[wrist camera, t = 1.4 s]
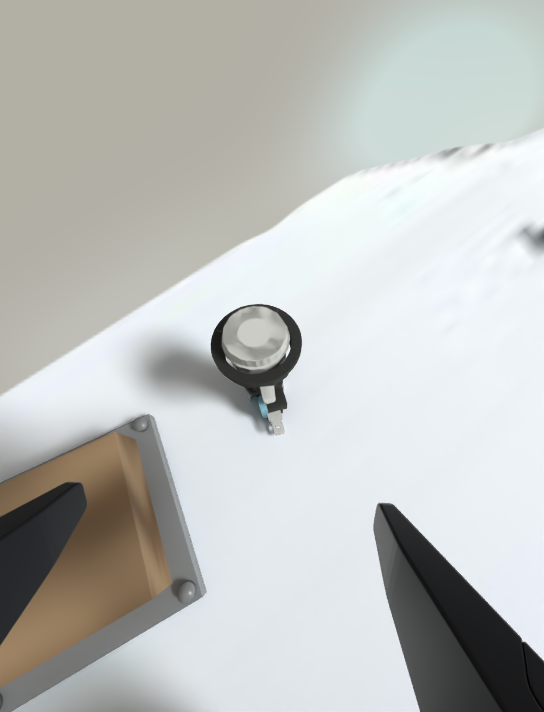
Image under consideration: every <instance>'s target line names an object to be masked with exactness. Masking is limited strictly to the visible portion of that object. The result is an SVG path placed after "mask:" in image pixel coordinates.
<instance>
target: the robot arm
mask: <svg viewBox="0 0 544 712" xmlns="http://www.w3.org/2000/svg"><path fill="white" fill-rule="evenodd" d="M86 508H87V498H86V494H85V490H84V487H83V484H82V483H81V482H73V481H68V482H65V483H63V484H61V485H59V486H57V487H55V488H53V489H52V490H50V491H48V492H46V493H44V494H42V495H40V496H38V497H36V498H35V499H33V500H31V501H29V502H27V503H25V504H23V505H21V506H19V507H18V508H16V509H14V510H12V511H10V512H8V513H6V514H4V515H2V516H1V517H0V646H1V644H2V643H3V641H4V640H5V638H6V637H7V635H8V634H9V632H10V631H11V629H12V628H13V626H14V625H15V623H16V622H17V620H18V619H19V617H20V616H21V614H22V613H23V611H24V610H25V608H26V607H27V605H28V604H29V603H30V601H31V600H32V598H33V597H34V595H35V594H36V592H37V591H38V589H39V588H40V586H41V585H42V583H43V582H44V580H45V579H46V577H47V576H48V574H49V573H50V571H51V570H52V568H53V567H54V565H55V563H56V562H57V560H58V558H59V557H60V555H61V553H62V551H63V550H64V548H65V546H66V544H67V543H68V541H69V539H70V537H71V535H72V534H73V532H74V530H75V528H76V527H77V525H78V523H79V521H80V520H81V518H82V516H83V514H84V513H85V511H86ZM373 527H374V535H375V540H376V545H377V551H378V556H379V561H380V566H381V571H382V576H383V581H384V586H385V591H386V595H387V599H388V603H389V607H390V610H391V613H392V617H393V620H394V624H395V627H396V631H397V634H398V637H399V641H400V644H401V648H402V651H403V654H404V658H405V661H406V665H407V668H408V672H409V675H410V678H411V682H412V685H413V689H414V692H415V695H416V699H417V702H418V706H419V709H420V712H544V661H543V660H542V659H541V658H540V657H539V655H538V654H537V653H536V652H535V651H534V650H533V649H532V648H531V647H530V646H529V645H528V644H527V643H526V642H522V639H521V637H520V636H519V635H518V634H517V633H516V632H515V631H514V630H513V629H512V628H511V626H510V625H509V624H508V623H507V622H506V621H505V620H504V619H503V618H502V617H501V616H500V615H499V614H498V613H497V612H496V611H495V610H494V609H493V608H492V607H491V606H490V605H489V604H488V602H487V601H486V600H485V599H484V598H483V597H482V596H481V595H480V594H479V593H478V592H477V591H476V590H475V589H474V588H473V587H472V586H471V585H470V584H469V583H468V582H467V581H466V580H465V579H464V577H463V576H462V575H461V574H460V573H459V572H458V571H457V570H456V569H455V568H454V567H453V566H452V565H451V564H450V563H449V562H448V561H447V560H446V559H445V558H444V557H443V556H442V555H441V554H440V552H439V551H438V550H437V549H436V548H435V547H434V546H433V545H432V544H431V543H430V542H429V541H428V540H427V539H426V538H425V537H424V536H423V535H422V534H421V533H420V532H419V531H418V530H417V528H416V527H415V526H414V525H413V524H412V523H411V522H410V521H409V520H408V519H407V518H406V517H405V516H404V515H403V514H402V513H401V512H400V511H399V510H398V509H397V508H396V507H395V506H394V505H393V504H390V503H378V505H377V507H376V513H375V518H374V526H373Z"/></svg>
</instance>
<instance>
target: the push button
mask: <svg viewBox="0 0 544 712" xmlns="http://www.w3.org/2000/svg"><path fill="white" fill-rule="evenodd" d="M289 344H290V348H291V350H290V352H289V355H288V356H287V358H286V352H287V350H288V347H289ZM301 347H302V338H301V333H300V330H299V328H298V326H297V324H296V322H295V321H294V320H293V319H292V317H291V316H289V315H288V314H287V313H286V312H284V311H283V310H281V309H279V308H276V307H273V306H270V305H263V304H254V305H247V306H243V307H240V308H238V309H236V310H234V311H232V312H230V313H229V314H228V315H226V316H225V317H224V318H223V319H222V320H221V321H220V322H219V324H218V325H217V327H216V328H215V330H214V332H213V335H212V339H211V353H212V357H213V359H214V362H215V364H216V365H217V367H218V369H219V370H220V371H221V372H222V373H223V374H224V375H225V376H226V377H227V378H229V379H230V380H232V381H233V382H235V383H237V384H239V385H241V386H244V387H245V388H246V390H247V392H248V396H249V399H250V402H251V398H250V396H255V395H257V398H258V402H259V407H260V410H261V414H262V415H263V419H264V418H267V417H268V420H269V423H272V427H273V430H274V433H275V435H276V436H277V435H280V434H284V427H283V424H282V421H281V420H282V414H281V413H283V409H287V402H286V398H285V395H284V386H283V379H284V378H286V377H287V376H288V373H289V372H290V371H291V370H292V369H293V368H294V366H295V365H296V363H297V361H298V359H299V357H300V353H301ZM226 357H227V358H228V359H229V360H230V361H231V362H232V364H233V366H234V367H235V369H234V368H233V367H232V366H230V365H229V364H228V362H227V361H226ZM277 426H280V428H279V429H277V428H276V427H277Z"/></svg>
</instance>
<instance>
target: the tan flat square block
mask: <svg viewBox="0 0 544 712" xmlns="http://www.w3.org/2000/svg"><path fill="white" fill-rule="evenodd" d="M68 481H73V482H81V483H82V484H83V487H84V490H85V494H86V498H87V508H86V511H85V513H84V514H83V516H82V518H81V520H80V521H79V523H78V525H77V527H76V528H75V530H74V532H73V534H72V535H71V537H70V539H69V541H68V543H67V544H66V546H65V548H64V550H63V551H62V553H61V555H60V557H59V558H58V560H57V562H56V563H55V565H54V567H53V568H52V570H51V571H50V573H49V574H48V576H47V577H46V579H45V580H44V582H43V583H42V585H41V586H40V588H39V589H38V591H37V592H36V594H35V595H34V597H33V598H32V600H31V601H30V603H29V604H28V605H27V607H26V608H25V610H24V611H23V613H22V614H21V616H20V617H19V619H18V620H17V622H16V623H15V625H14V626H13V628H12V629H11V631H10V632H9V634H8V635H7V637H6V638H5V640H4V641H3V643H2V644H1V646H0V688H1V687H3V686H4V685H6V684H8V683H10V682H11V681H13V680H15V679H16V678H18V677H20V676H22V675H23V674H25V673H27V672H28V671H30V670H32V669H34V668H35V667H37V666H39V665H40V664H42V663H44V662H46V661H47V660H49V659H51V658H52V657H54V656H56V655H58V654H59V653H61V652H63V651H65V650H66V649H68V648H70V647H71V646H73V645H75V644H77V643H78V642H80V641H82V640H83V639H85V638H87V637H89V636H90V635H92V634H94V633H95V632H97V631H99V630H101V629H102V628H104V627H106V626H107V625H109V624H111V623H113V622H114V621H116V620H118V619H120V618H121V617H123V616H125V615H126V614H128V613H130V612H132V611H133V610H135V609H137V608H138V607H140V606H142V605H144V604H145V603H147V602H149V601H150V600H152V599H153V598H155V597H156V596H157V595H158V594H160V593H161V592H162V591H163V590H165V589H166V588H167V587H168V586H169V585H171V584H172V579H171V575H170V571H169V567H168V563H167V559H166V556H165V552H164V548H163V544H162V540H161V536H160V532H159V529H158V525H157V521H156V517H155V513H154V509H153V505H152V502H151V498H150V494H149V490H148V486H147V482H146V478H145V475H144V471H143V467H142V463H141V459H140V455H139V451H138V448H137V444H136V440H135V439H133V438H130V437H127V436H125V435H122V434H119V433H116V432H113V433H111V434H109V435H106V436H104V437H102V438H100V439H98V440H96V441H94V442H91V443H89V444H87V445H85V446H83V447H81V448H79V449H76V450H74V451H72V452H70V453H68V454H66V455H64V456H61V457H59V458H57V459H55V460H53V461H51V462H49V463H46V464H44V465H42V466H40V467H38V468H36V469H33V470H31V471H29V472H27V473H25V474H23V475H21V476H18V477H16V478H14V479H12V480H10V481H8V482H6V483H3V484H1V485H0V517H1V516H2V515H4V514H6V513H8V512H10V511H12V510H14V509H16V508H18V507H19V506H21V505H23V504H25V503H27V502H29V501H31V500H33V499H35V498H36V497H38V496H40V495H42V494H44V493H46V492H48V491H50V490H52V489H53V488H55V487H57V486H59V485H61V484H63V483H65V482H68Z"/></svg>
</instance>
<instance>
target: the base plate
mask: <svg viewBox="0 0 544 712" xmlns="http://www.w3.org/2000/svg"><path fill="white" fill-rule="evenodd" d="M113 432H116V433H119V434H122V435H125V436H127V437H130V438H133V439H135V440H136V444H137V448H138V451H139V455H140V459H141V463H142V467H143V471H144V475H145V478H146V482H147V486H148V490H149V494H150V498H151V502H152V505H153V509H154V513H155V517H156V521H157V525H158V529H159V532H160V536H161V540H162V544H163V548H164V552H165V556H166V559H167V563H168V567H169V571H170V575H171V579H172V584H171V585H169V586H168V587H167V588H166V589H165V590H163V591H162V592H161V593H160V594H158V595H157V596H156V597H155V598H153V599H152V600H150V601H149V602H147V603H145V604H144V605H142V606H140V607H138V608H137V609H135V610H133V611H132V612H130V613H128V614H126V615H125V616H123V617H121V618H120V619H118V620H116V621H114V622H113V623H111V624H109V625H107V626H106V627H104V628H102V629H101V630H99V631H97V632H95V633H94V634H92V635H90V636H89V637H87V638H85V639H83V640H82V641H80V642H78V643H77V644H75V645H73V646H71V647H70V648H68V649H66V650H65V651H63V652H61V653H59V654H58V655H56V656H54V657H52V658H51V659H49V660H47V661H46V662H44V663H42V664H40V665H39V666H37V667H35V668H34V669H32V670H30V671H28V672H27V673H25V674H23V675H22V676H20V677H18V678H16V679H15V680H13V681H11V682H10V683H8V684H6V685H4V686H3V687H1V688H0V712H11V711H13V710H15V709H16V708H18V707H20V706H21V705H23V704H25V703H26V702H28V701H30V700H31V699H33V698H35V697H36V696H38V695H40V694H41V693H43V692H45V691H46V690H48V689H50V688H51V687H53V686H55V685H56V684H58V683H60V682H61V681H63V680H65V679H66V678H68V677H70V676H71V675H73V674H75V673H76V672H78V671H80V670H81V669H83V668H85V667H86V666H88V665H90V664H91V663H93V662H95V661H96V660H98V659H100V658H101V657H103V656H105V655H106V654H108V653H110V652H111V651H113V650H115V649H116V648H118V647H120V646H121V645H123V644H125V643H126V642H128V641H130V640H131V639H133V638H135V637H136V636H138V635H140V634H141V633H143V632H145V631H146V630H148V629H150V628H151V627H153V626H155V625H156V624H158V623H160V622H161V621H163V620H165V619H166V618H168V617H170V616H171V615H173V614H175V613H177V612H178V611H180V610H182V609H183V608H185V607H187V606H188V605H190V604H192V603H193V602H195V601H197V600H198V599H200V598H202V597H203V596H204V594H205V593H206V588H205V585H204V582H203V578H202V575H201V572H200V568H199V565H198V562H197V558H196V555H195V552H194V548H193V545H192V542H191V538H190V535H189V532H188V528H187V525H186V522H185V518H184V515H183V512H182V508H181V505H180V502H179V499H178V495H177V492H176V489H175V485H174V482H173V479H172V475H171V472H170V469H169V465H168V462H167V459H166V455H165V452H164V449H163V445H162V442H161V439H160V435H159V432H158V429H157V425H156V422H155V419H154V417H153V416H151V415H150V414H148V415H146V416H144V417H141V418H137V419H136V420H135V421H133V422H131V423H129V424H126V425H124V426H122V427H120V428H118V429H116V430H113V431H111V432H109V433H107V434H105V435H103V436H101V437H98V438H96V439H94V440H92V441H90V442H88V443H85V444H83V445H81V446H79V447H77V448H75V449H73V450H70V451H68V452H66V453H64V454H62V455H60V456H58V457H55V458H53V459H51V460H49V461H47V462H45V463H42V464H40V465H38V466H36V467H34V468H32V469H30V470H27V471H25V472H23V473H21V474H19V475H17V476H14V477H12V478H10V479H8V480H6V481H4V482H2V483H0V485H1V484H3V483H6V482H8V481H10V480H12V479H14V478H16V477H18V476H21V475H23V474H25V473H27V472H29V471H31V470H33V469H36V468H38V467H40V466H42V465H44V464H46V463H49V462H51V461H53V460H55V459H57V458H59V457H61V456H64V455H66V454H68V453H70V452H72V451H74V450H76V449H79V448H81V447H83V446H85V445H87V444H89V443H91V442H94V441H96V440H98V439H100V438H102V437H104V436H106V435H109V434H111V433H113Z"/></svg>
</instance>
